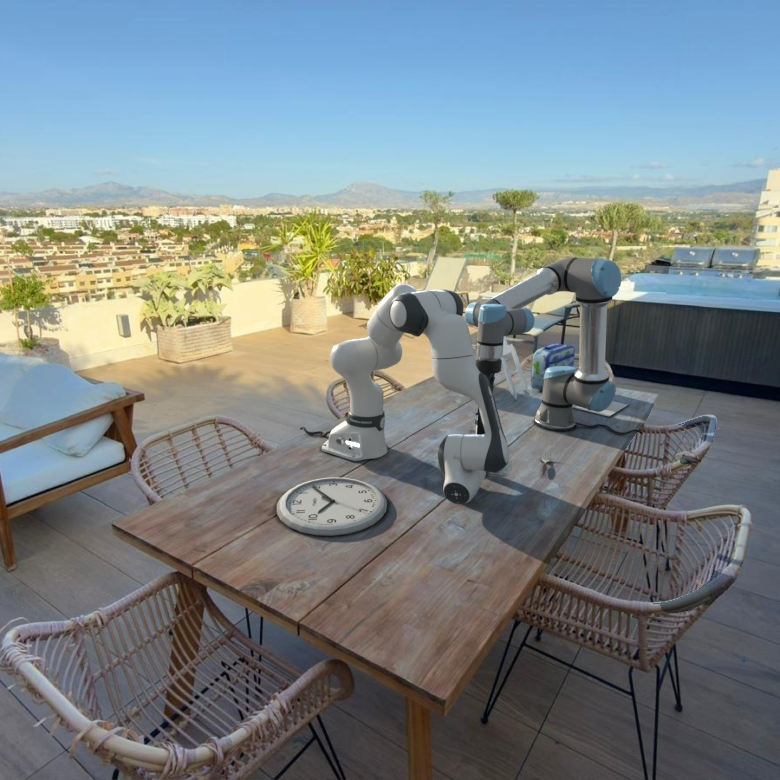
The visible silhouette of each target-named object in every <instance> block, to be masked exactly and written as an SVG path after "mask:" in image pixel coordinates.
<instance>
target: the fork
mask: <svg viewBox="0 0 780 780" xmlns="http://www.w3.org/2000/svg"><path fill="white" fill-rule="evenodd" d="M547 453H549V454H547ZM547 453H545V452H542V458H541V461H542V462H543V465H542V476H544V475H545V472H546V471H547V463H550V462H551V455H552V454H551V453H552V452H551V451H550V452H549V451H548V452H547Z"/></svg>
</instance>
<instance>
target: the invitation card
mask: <svg viewBox="0 0 780 780" xmlns="http://www.w3.org/2000/svg"><path fill="white" fill-rule="evenodd" d="M628 406H629V404H627V403H623V402H618V401H614V400H612V402H611V404H610V405H609V406H608V407H607V408H606V409H605V410H604V411H601V412H596V411H592V410H588V409H585V408H582V407H579V406H576V405H575V406H574V407H573V409H575V410H581V411H584V412H587V413H593V414H596V415H600V416H604V417H608V418H609V417H611V416H613V415H614V414H616V413H617V412H619V411H621V410H623V409H624V408H626V407H628Z"/></svg>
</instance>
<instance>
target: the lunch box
mask: <svg viewBox="0 0 780 780" xmlns="http://www.w3.org/2000/svg"><path fill="white" fill-rule="evenodd" d="M575 352H576V351H575V346H573V345H568V344H562V343H553V344H550V345H547V346H546V345H545V346H544V347H541V348H538V349H537V350H536V351H535V352H534V354H533V357H532V362H531V371H530V372H531V374H530V387H531V389H533V390H539V391H543V381H544V379H543V378H544V375H545V371H546V369H547V368H549V367H555V366H571V367H574V363H575Z"/></svg>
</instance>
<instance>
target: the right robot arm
mask: <svg viewBox="0 0 780 780" xmlns="http://www.w3.org/2000/svg"><path fill="white" fill-rule="evenodd" d="M621 285H622V273H621V269H620V267H619V265H618V264H617V263H616V262H615V261H613V260H610V259H604V258H594V257H593V258H591V257H575V256H574V257H573V256H571V257H566V258H563V259H560V260H557V261H555V262H552V263H550V264H548V265H545V266H543V267H541V268H540V269H538V270H537V271H536V273H535V274H534V275H533V276H530V277H529V278H527V279H525V280H524V281H521V282H520V283H518V284H516V285H513V286H512V287H511V288H509V289H507V290H505V291H503V292H500V293H499V294H497V295H495V296H494V297H491V298H489V299H487V300H486V301H484V302H471V303H469V304H468V305H467V307H466V308H465V310H464V319H465V320H466V322H467V324H468V325H470V326H473V327H476V328H477V337H476V339H477V340H476V345H474V346H475V349H477V353H476V356H477V358H476V366H477V368H478V370H479V371H480V372H481V373H483V374H484V375H486V376H487V378H488V380H489V382H490V385H491V388H492V392H493V393H494V387H495V381H496V377H495V374H499V373H500V372H501V371H502V360H501V358H502V355H503V341H504V336H505V337H509V336H514V335H523V334H525V333H528V332H531V330H533V328H534V326H535V315H534V313H533V311H531V310H530V309H529V308H524V307H526V306H528V305H529V304H532V303H534V302H536V301H537V300H539V299H540V298H542V297H544V296H549V295H550V296H551V295H554V294H555V293H558V292H559V293H560V292H565V293H566V292H567V293H568V292H569V293H575V302H576V303H577V304H578V305H579V352H578V353H579V354H578V368H577V367H576V366H573V367H571V366H555V367H549V368H547V369H546V371H545V375H544V378H543V379H544V381H543V390H542V394H541V402H540V405H539V407H538V409H537V411H536V413H535V416H534V424H535V425H536V426H537V427H539V428H542V429H544V430H549V431H556V432H567V431H572V430H574V429H575V428H576V425H577V426H581V427H584V428H588V429H589V428H590V429H591V428H595V427H603V428H606V429H608V430H609V431H611V433H614V434H617V435H628V434H631V433H634V432H637V433H638V434H640V435H643V434H644V433H643V431H642V430H640V429H636V428H635V429H631V430H628V431H617V430H615V429H613V428H612V427H611V426H609V425H607V424H603V423H596V424H592V425H591V424H590V425H589V424H585V423H582V422H577V421H576V418H575V417H576V416H575V413H574V407H573V406H575V407H576V406H579V407H582V408H585V409H588V410H592V411H596V412H601V411H604V410H605V409H606V408H607V407H608V406H609V405H610V404H611V402H612V401H614V398H615V395H616V392H617V386H616V384H615V383H614V382H613V381H610V373H609V371H607V369H606V348H607V347H606V345H607V326H608V325H607V323H608V322H607V319H608V304H610V303H611V302H612V301H613V297H614V296H616V295H617V294H618V293H619V291H620V287H621ZM475 416H478V424H477V434H485V430H484V426H483V422H482V418H481V415H480V411H479V407H478V406H477V411H476V412H475Z"/></svg>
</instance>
